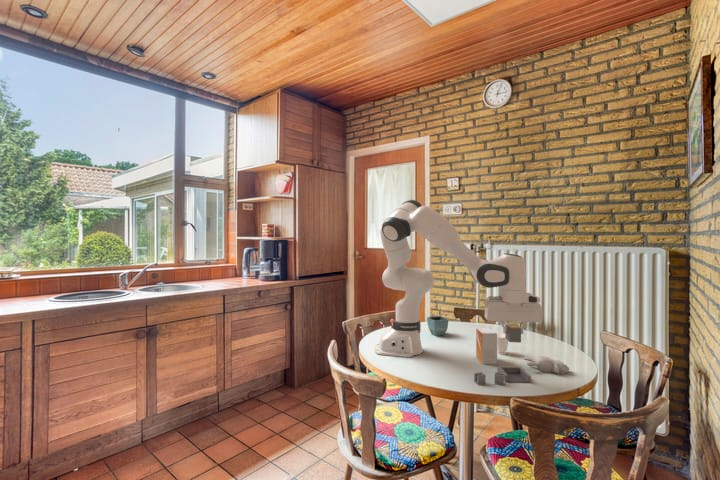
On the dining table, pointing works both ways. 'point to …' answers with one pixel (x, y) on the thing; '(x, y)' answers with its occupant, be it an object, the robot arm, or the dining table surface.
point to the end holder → (514, 374)
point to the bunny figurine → (548, 365)
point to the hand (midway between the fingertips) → (513, 333)
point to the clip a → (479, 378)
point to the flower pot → (437, 325)
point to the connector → (513, 332)
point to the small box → (486, 345)
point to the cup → (501, 344)
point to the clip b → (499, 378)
